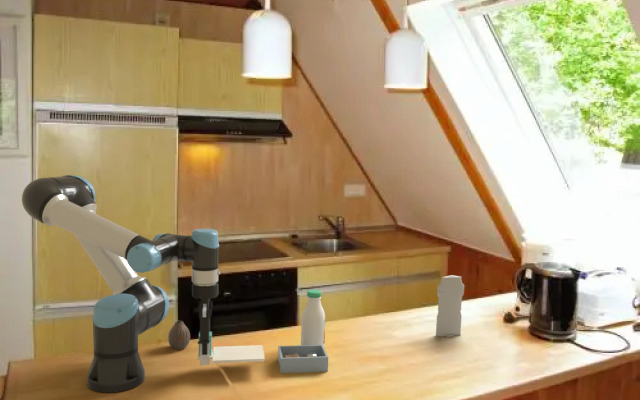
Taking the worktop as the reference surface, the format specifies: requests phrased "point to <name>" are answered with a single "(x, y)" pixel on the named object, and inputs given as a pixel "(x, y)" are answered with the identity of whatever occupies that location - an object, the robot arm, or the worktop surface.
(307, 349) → the tub
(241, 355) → the lid
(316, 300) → the milk bottle
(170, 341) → the vase
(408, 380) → the worktop surface
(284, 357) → the walnut part
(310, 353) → the metal part
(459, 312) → the tall pale column
